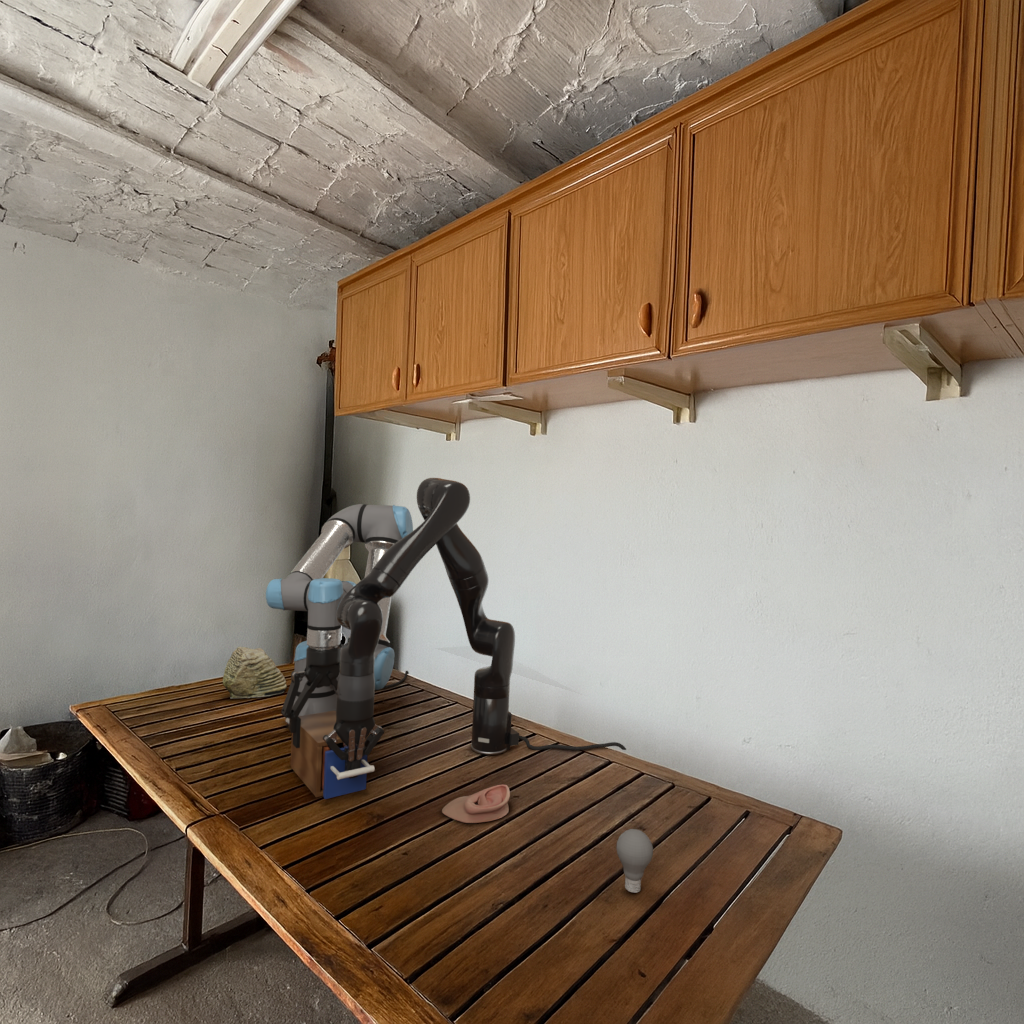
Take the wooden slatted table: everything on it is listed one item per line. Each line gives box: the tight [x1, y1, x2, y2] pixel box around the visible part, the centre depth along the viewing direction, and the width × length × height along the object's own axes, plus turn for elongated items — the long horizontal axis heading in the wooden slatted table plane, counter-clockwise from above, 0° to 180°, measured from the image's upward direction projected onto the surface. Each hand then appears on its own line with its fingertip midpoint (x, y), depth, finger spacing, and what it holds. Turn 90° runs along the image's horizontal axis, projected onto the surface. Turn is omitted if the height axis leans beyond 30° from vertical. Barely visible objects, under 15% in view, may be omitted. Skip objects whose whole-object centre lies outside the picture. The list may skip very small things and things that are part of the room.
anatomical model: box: [441, 784, 511, 824], centre depth 131 cm, size 13×4×12 cm
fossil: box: [222, 646, 288, 699], centre depth 198 cm, size 9×18×15 cm, turn 132°
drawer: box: [321, 742, 376, 800], centre depth 138 cm, size 22×9×10 cm, turn 36°
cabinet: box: [289, 710, 343, 798], centre depth 143 cm, size 18×10×12 cm, turn 36°
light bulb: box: [615, 828, 654, 894], centre depth 106 cm, size 6×6×10 cm
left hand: (319, 741), depth 147 cm, fingers closed on cabinet, 10 cm apart
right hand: (352, 776), depth 131 cm, fingers closed
